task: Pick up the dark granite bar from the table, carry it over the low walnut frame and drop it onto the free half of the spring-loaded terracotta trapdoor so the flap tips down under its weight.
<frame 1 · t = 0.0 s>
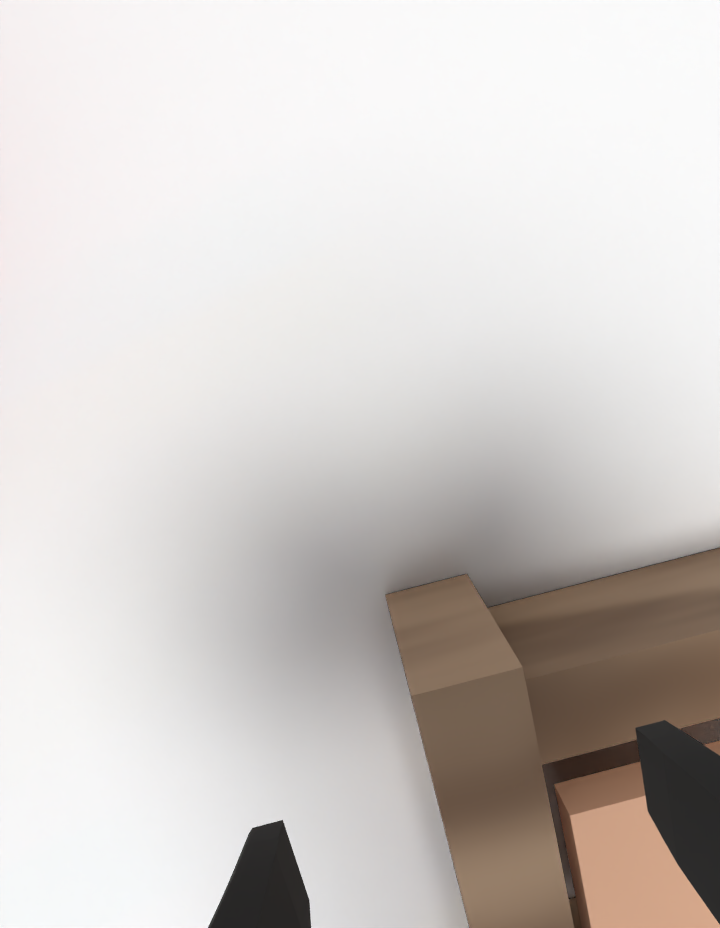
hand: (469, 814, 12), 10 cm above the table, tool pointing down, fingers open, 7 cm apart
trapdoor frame: (649, 765, 24), on the table
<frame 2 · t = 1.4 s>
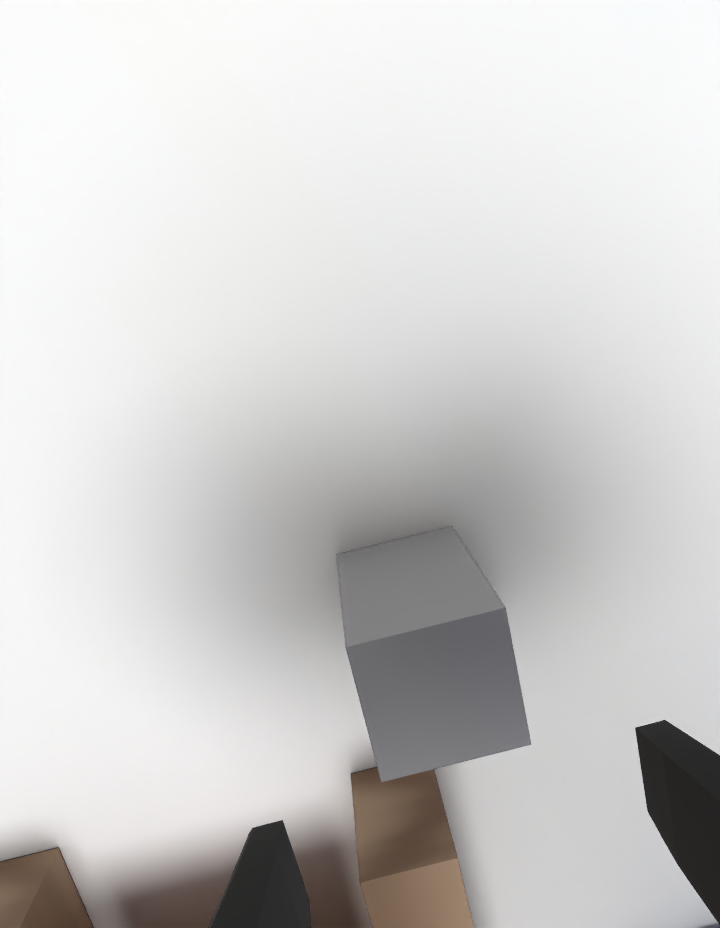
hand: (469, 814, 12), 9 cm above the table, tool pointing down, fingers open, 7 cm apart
stone: (406, 593, 21), on the table
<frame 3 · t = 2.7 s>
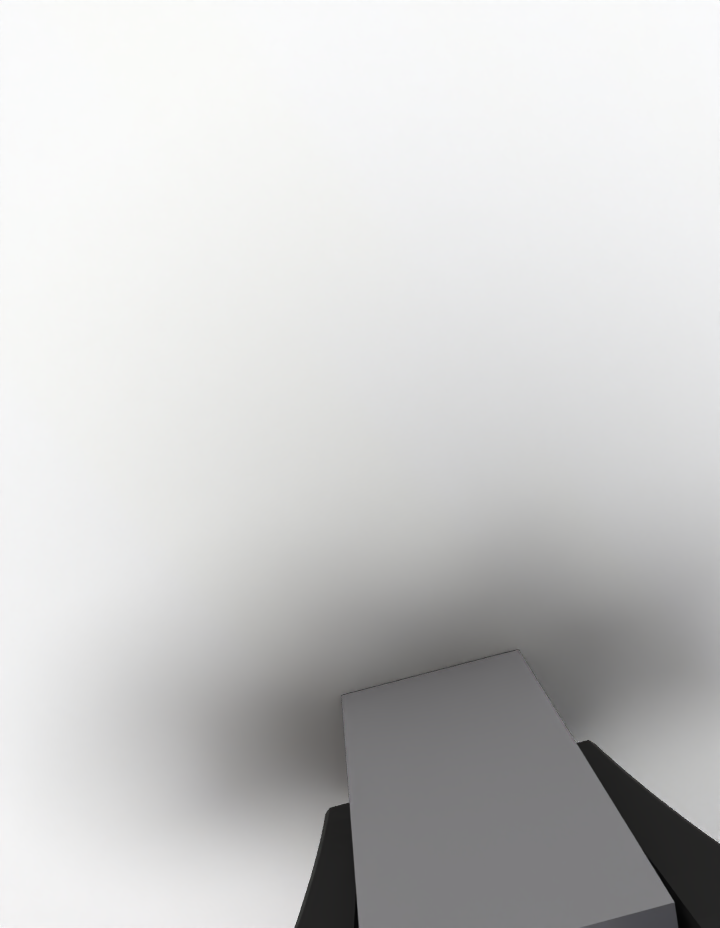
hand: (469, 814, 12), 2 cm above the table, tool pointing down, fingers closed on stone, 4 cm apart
stone: (448, 748, 14), on the table, touching gripper
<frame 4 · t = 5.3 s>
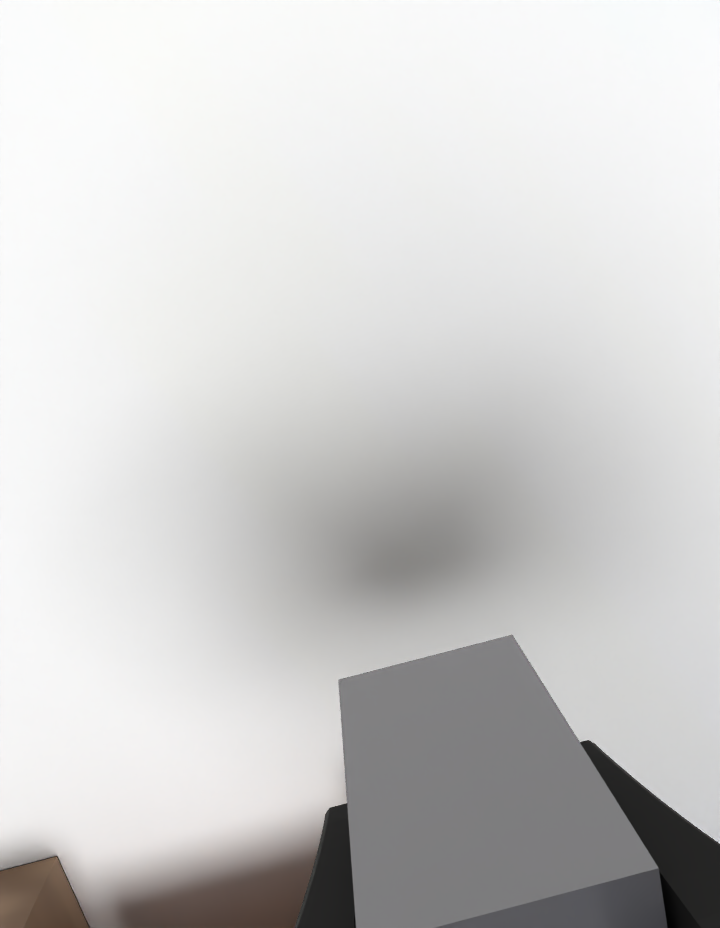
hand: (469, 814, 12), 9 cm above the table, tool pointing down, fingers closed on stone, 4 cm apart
stone: (443, 732, 14), point 7 cm above the table, touching gripper
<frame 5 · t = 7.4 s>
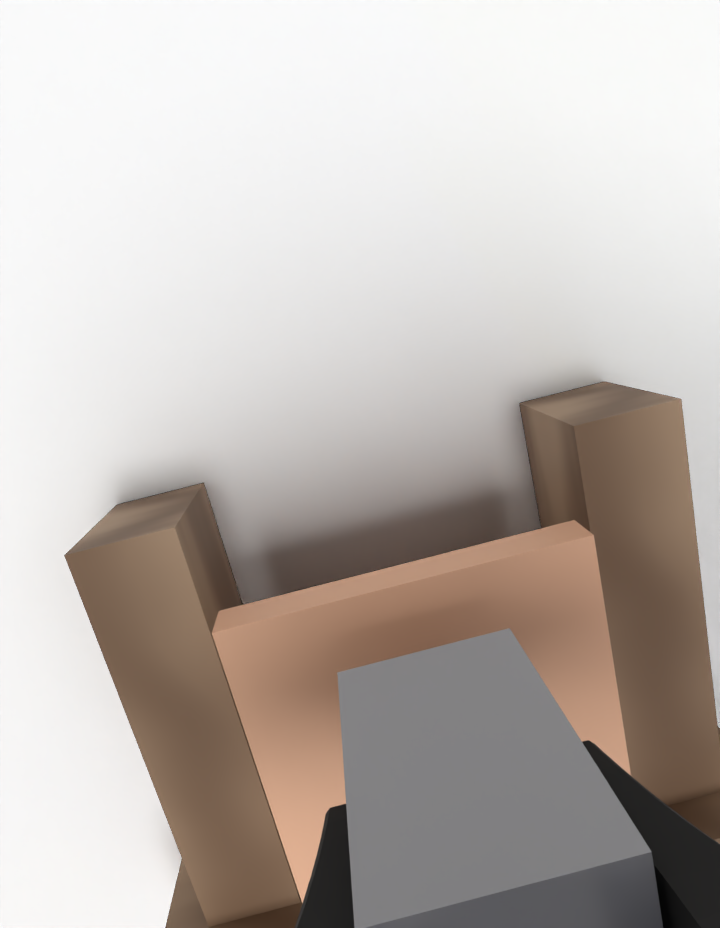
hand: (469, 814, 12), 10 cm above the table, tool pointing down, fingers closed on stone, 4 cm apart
trapdoor: (439, 732, 17), point 5 cm above the table, hinge at 0.0°
stone: (441, 725, 14), point 8 cm above the table, touching gripper
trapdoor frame: (409, 636, 23), on the table
when the fingers open (10 cm above the table, at t = 8.0 s): stone drops 4 cm, resting on trapdoor.
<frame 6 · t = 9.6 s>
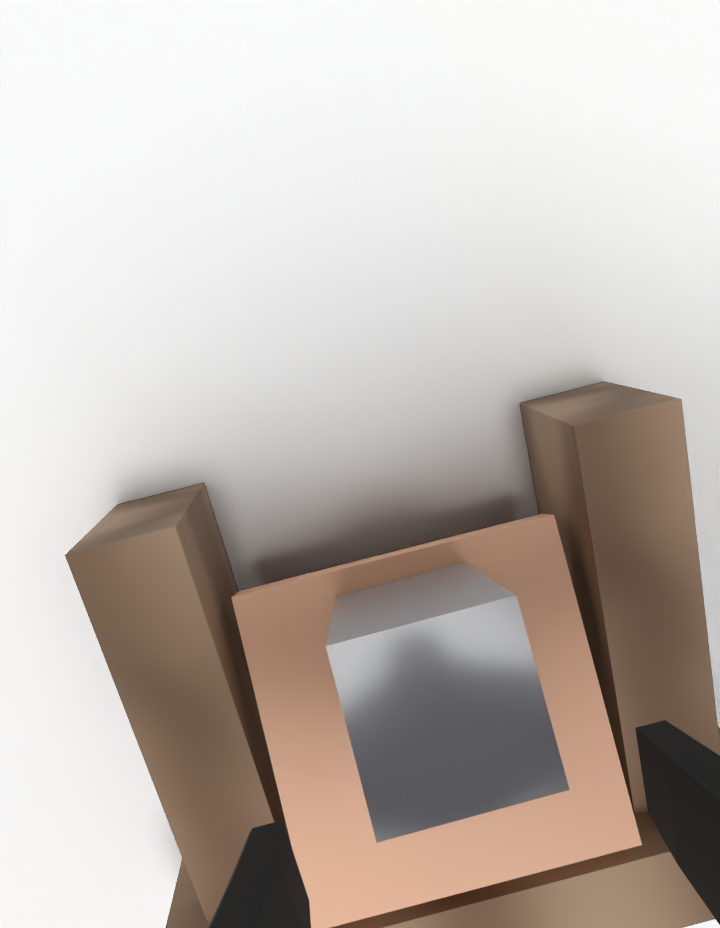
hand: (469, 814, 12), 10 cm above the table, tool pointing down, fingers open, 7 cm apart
trapdoor: (432, 713, 19), point 4 cm above the table, hinge at -16.6°, touching stone
stone: (417, 644, 18), point 4 cm above the table, tilted 17°, touching trapdoor
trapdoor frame: (410, 636, 23), on the table
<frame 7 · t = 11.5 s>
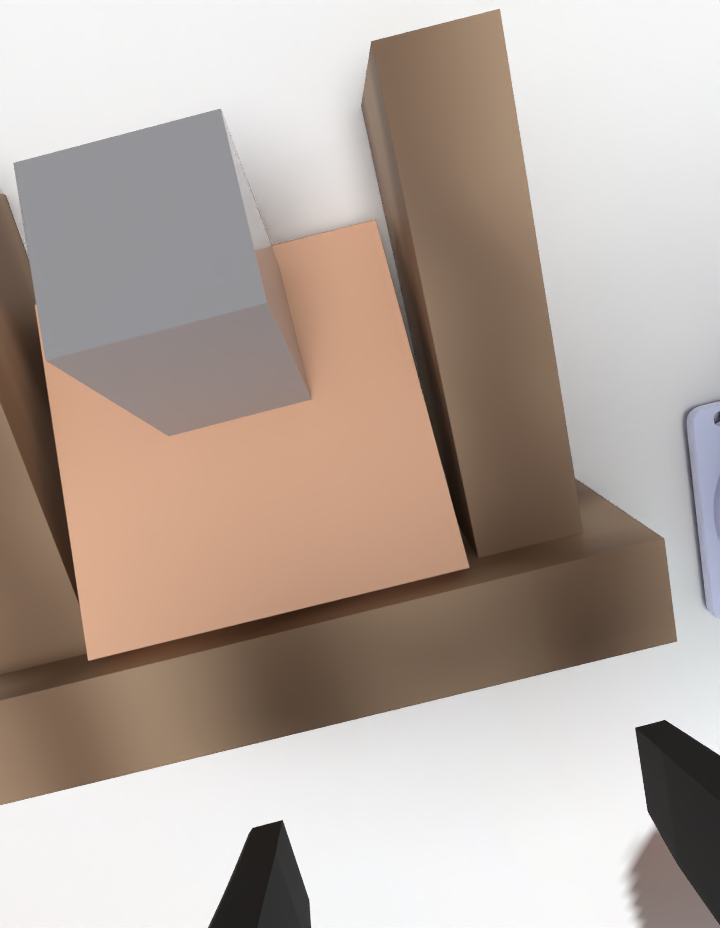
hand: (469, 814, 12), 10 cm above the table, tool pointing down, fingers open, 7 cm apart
trapdoor: (244, 433, 17), point 3 cm above the table, hinge at -24.7°, touching stone, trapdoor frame
stone: (225, 349, 17), point 3 cm above the table, tilted 25°, touching trapdoor
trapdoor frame: (252, 393, 20), on the table
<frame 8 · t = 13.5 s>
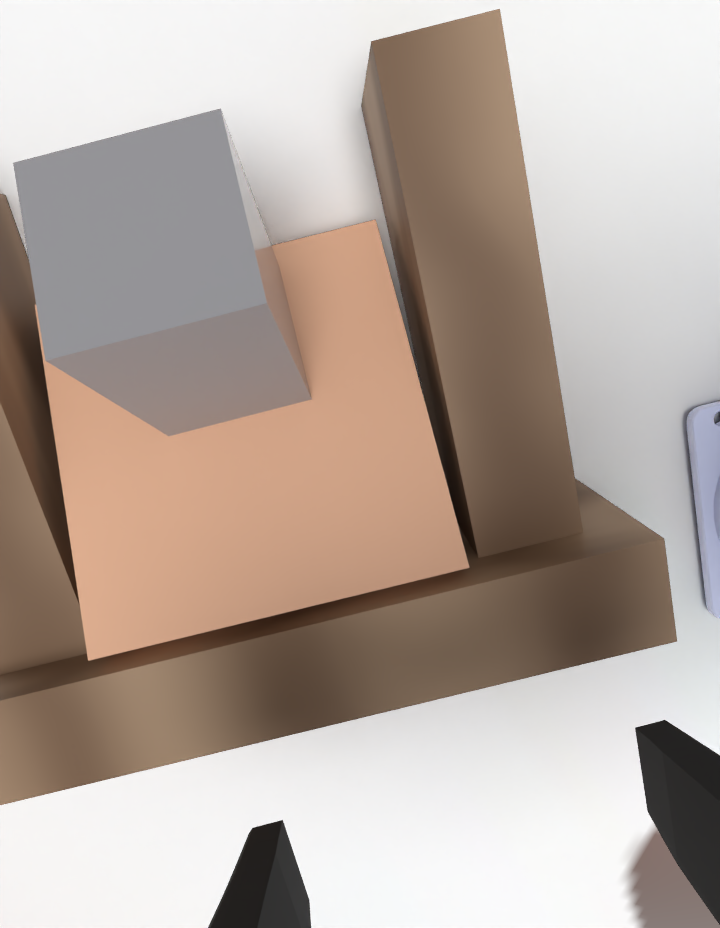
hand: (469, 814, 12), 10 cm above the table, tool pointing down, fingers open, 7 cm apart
trapdoor: (244, 433, 17), point 3 cm above the table, hinge at -24.7°, touching stone, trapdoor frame
stone: (225, 349, 17), point 3 cm above the table, tilted 25°, touching trapdoor
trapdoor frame: (252, 393, 20), on the table
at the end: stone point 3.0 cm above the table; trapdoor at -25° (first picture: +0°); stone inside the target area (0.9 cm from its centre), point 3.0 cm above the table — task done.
